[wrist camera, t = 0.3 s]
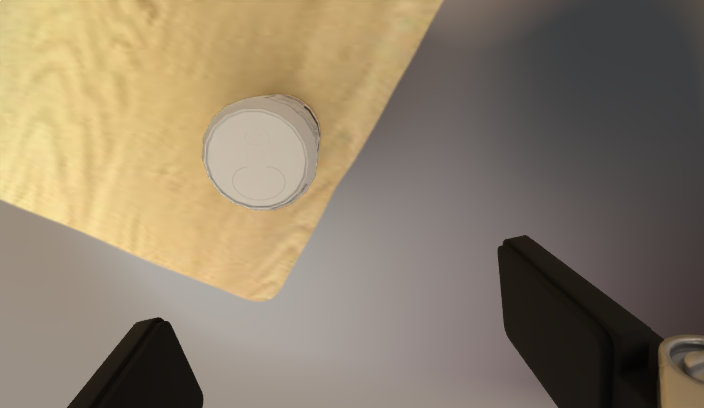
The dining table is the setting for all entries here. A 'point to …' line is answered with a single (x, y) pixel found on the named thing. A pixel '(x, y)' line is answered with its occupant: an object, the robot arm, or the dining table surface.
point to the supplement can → (262, 151)
